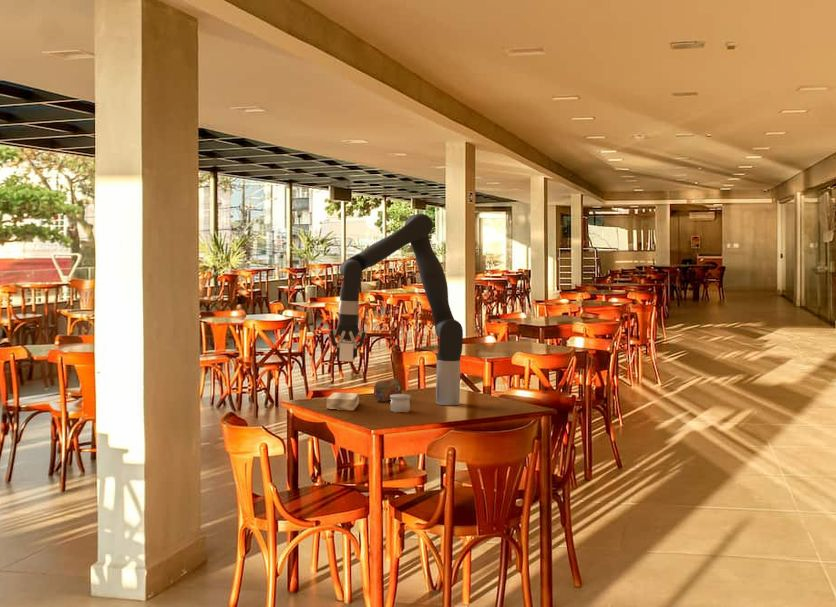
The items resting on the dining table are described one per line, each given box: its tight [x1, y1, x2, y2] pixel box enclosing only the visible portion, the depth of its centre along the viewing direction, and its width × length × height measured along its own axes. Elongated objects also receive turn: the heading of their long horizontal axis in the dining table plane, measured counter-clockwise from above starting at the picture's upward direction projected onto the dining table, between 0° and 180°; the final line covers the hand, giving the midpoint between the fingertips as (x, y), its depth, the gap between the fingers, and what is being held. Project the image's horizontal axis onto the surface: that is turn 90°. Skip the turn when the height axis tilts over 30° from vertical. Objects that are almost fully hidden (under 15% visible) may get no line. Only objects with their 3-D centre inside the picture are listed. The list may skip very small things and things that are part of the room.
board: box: [326, 392, 360, 411], centre depth 353 cm, size 10×16×4 cm, turn 177°
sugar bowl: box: [390, 393, 411, 413], centre depth 345 cm, size 8×8×6 cm
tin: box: [373, 378, 403, 403], centre depth 371 cm, size 15×3×8 cm, turn 143°
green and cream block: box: [338, 340, 355, 362], centre depth 352 cm, size 5×5×7 cm
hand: (346, 357), depth 352 cm, fingers closed on green and cream block, 5 cm apart
